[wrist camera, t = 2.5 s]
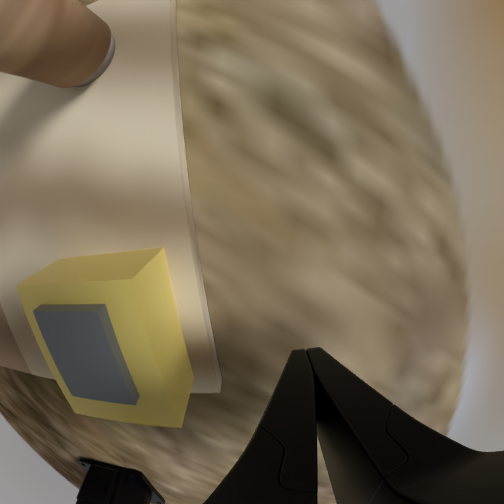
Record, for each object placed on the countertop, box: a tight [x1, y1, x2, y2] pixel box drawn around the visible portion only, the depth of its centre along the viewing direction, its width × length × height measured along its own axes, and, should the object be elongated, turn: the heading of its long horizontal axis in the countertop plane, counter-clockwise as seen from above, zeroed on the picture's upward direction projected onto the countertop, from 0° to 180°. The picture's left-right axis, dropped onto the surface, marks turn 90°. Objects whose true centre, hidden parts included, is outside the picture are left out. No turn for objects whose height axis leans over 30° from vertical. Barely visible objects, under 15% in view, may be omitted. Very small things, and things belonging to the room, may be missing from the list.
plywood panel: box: [0, 0, 222, 393], centre depth 10 cm, size 18×19×1 cm
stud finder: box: [16, 247, 194, 428], centre depth 9 cm, size 6×5×4 cm
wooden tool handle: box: [0, 0, 116, 88], centre depth 4 cm, size 3×3×7 cm
